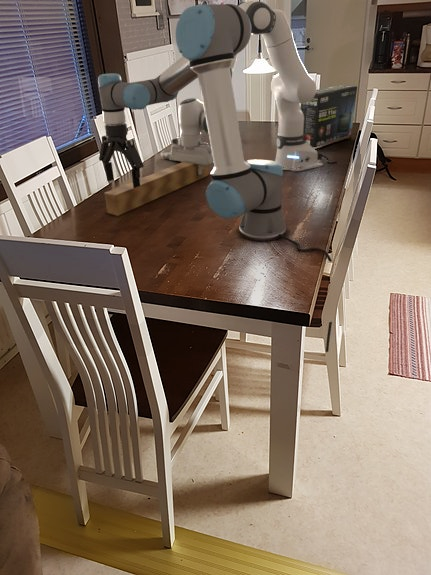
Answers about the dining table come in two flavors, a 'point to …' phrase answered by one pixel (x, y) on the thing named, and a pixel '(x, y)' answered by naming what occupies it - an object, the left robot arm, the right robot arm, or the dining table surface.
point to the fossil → (166, 155)
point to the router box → (329, 114)
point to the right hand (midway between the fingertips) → (192, 172)
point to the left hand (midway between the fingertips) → (123, 183)
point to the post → (152, 187)
